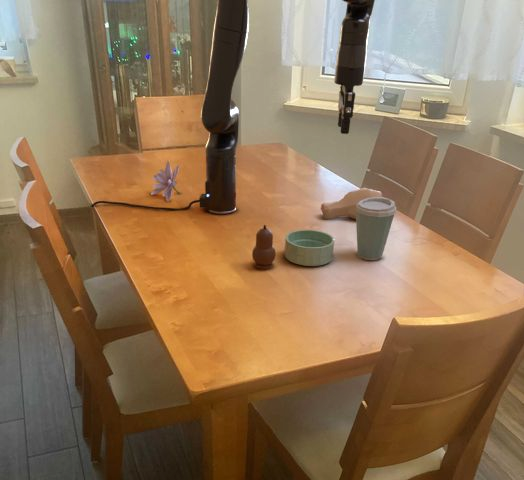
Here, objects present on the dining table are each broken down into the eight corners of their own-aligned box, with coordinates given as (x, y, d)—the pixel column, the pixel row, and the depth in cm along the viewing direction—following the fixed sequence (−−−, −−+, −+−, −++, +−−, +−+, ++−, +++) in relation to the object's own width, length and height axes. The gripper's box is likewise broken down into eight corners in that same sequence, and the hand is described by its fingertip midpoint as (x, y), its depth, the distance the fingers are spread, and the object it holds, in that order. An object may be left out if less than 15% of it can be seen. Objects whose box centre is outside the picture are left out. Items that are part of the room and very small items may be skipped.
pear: (250, 270, 138) (251, 228, 132) (253, 260, 144) (254, 220, 137) (274, 271, 138) (276, 230, 132) (275, 262, 143) (277, 221, 137)
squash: (388, 222, 172) (391, 196, 165) (326, 232, 170) (326, 206, 164) (377, 205, 179) (379, 180, 173) (318, 214, 178) (318, 189, 172)
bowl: (283, 266, 141) (284, 246, 138) (285, 247, 152) (286, 228, 149) (332, 269, 140) (334, 249, 137) (331, 249, 151) (333, 231, 148)
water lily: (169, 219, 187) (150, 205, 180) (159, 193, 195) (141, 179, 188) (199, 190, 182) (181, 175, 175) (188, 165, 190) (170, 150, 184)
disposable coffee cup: (364, 266, 142) (372, 210, 134) (341, 251, 150) (347, 197, 142) (396, 259, 147) (406, 205, 138) (372, 245, 155) (380, 193, 146)
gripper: (334, 60, 147) (327, 124, 156) (338, 66, 135) (331, 135, 144) (361, 61, 147) (353, 125, 156) (368, 68, 135) (359, 136, 144)
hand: (342, 130), depth 150 cm, fingers open, 8 cm apart
